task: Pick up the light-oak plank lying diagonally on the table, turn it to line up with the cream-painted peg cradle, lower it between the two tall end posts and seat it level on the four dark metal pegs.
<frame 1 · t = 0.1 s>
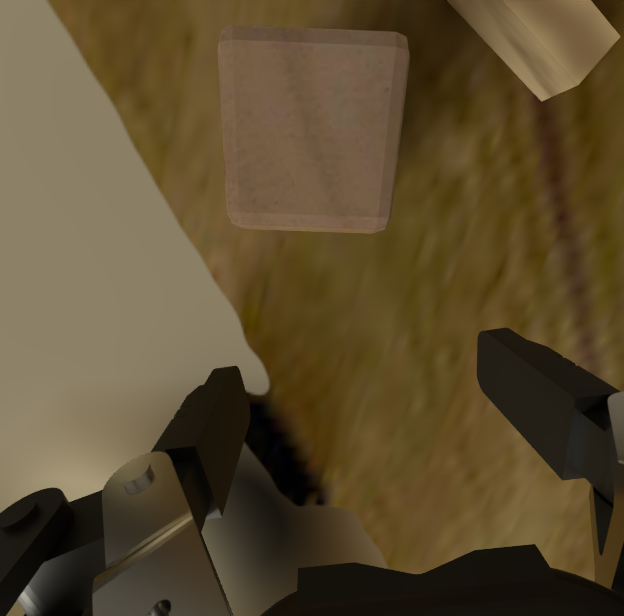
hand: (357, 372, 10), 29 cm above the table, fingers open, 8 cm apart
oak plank: (509, 30, 30), on the table
wooden block: (312, 173, 35), on the table
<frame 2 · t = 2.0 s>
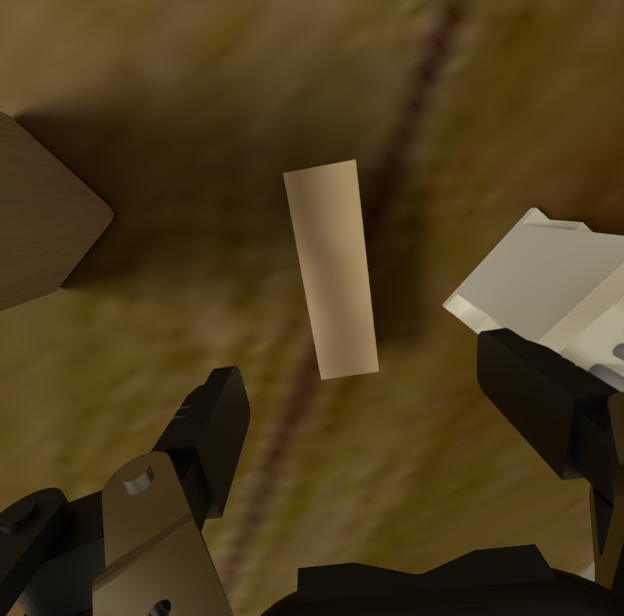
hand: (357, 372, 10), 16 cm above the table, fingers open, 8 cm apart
peg cradle: (564, 325, 27), on the table
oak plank: (332, 268, 25), on the table
wooden block: (38, 210, 24), on the table
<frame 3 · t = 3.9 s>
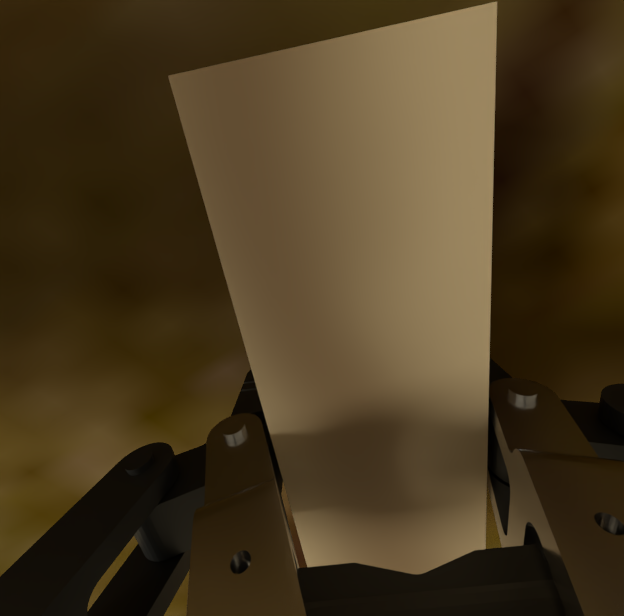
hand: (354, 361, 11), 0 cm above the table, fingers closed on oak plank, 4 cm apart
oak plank: (353, 352, 11), on the table, touching gripper
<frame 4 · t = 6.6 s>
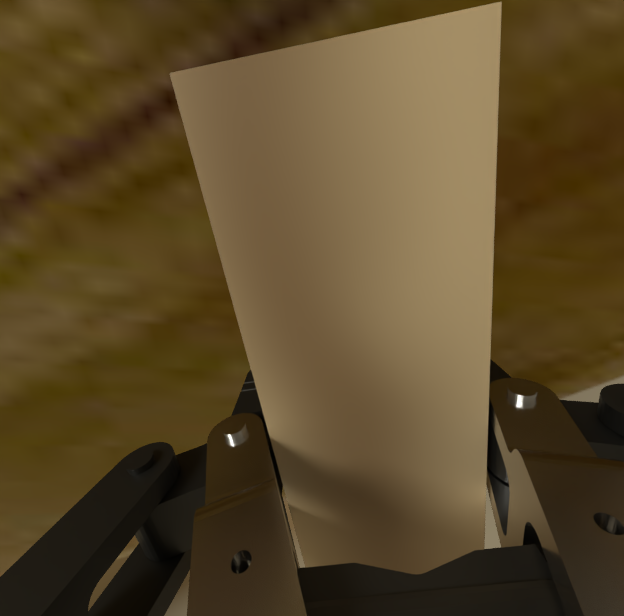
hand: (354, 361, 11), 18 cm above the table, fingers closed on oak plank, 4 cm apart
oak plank: (352, 352, 11), point 18 cm above the table, touching gripper
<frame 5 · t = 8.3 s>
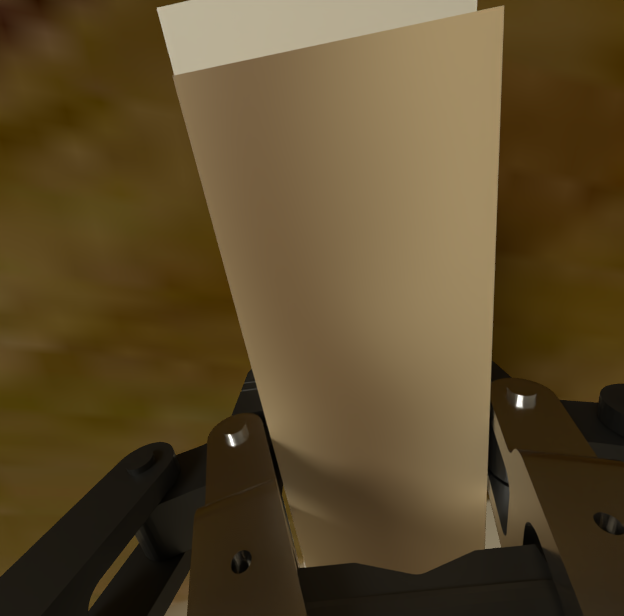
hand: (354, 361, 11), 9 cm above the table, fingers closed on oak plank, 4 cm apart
peg cradle: (338, 292, 19), on the table
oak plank: (353, 353, 11), point 8 cm above the table, touching gripper
when the fingers open (6 cm above the table, at t = 9.3 s): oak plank drops 1 cm, resting on peg cradle.
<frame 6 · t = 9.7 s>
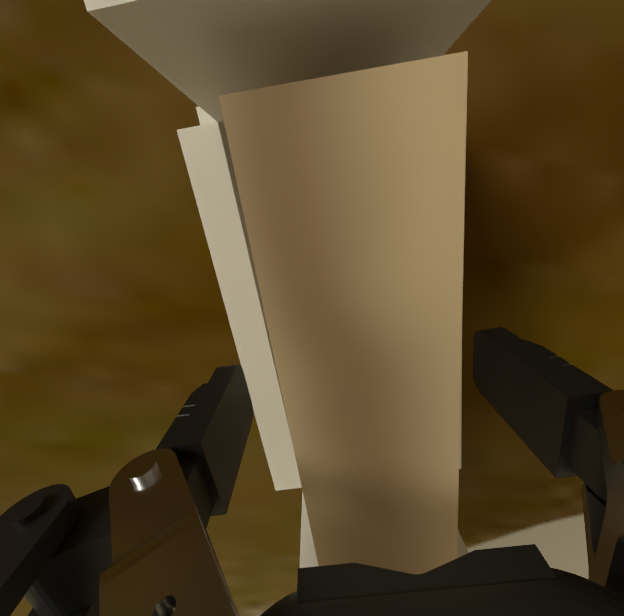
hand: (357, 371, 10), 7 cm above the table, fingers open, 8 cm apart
peg cradle: (340, 306, 17), on the table
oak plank: (350, 335, 13), point 4 cm above the table, touching peg cradle
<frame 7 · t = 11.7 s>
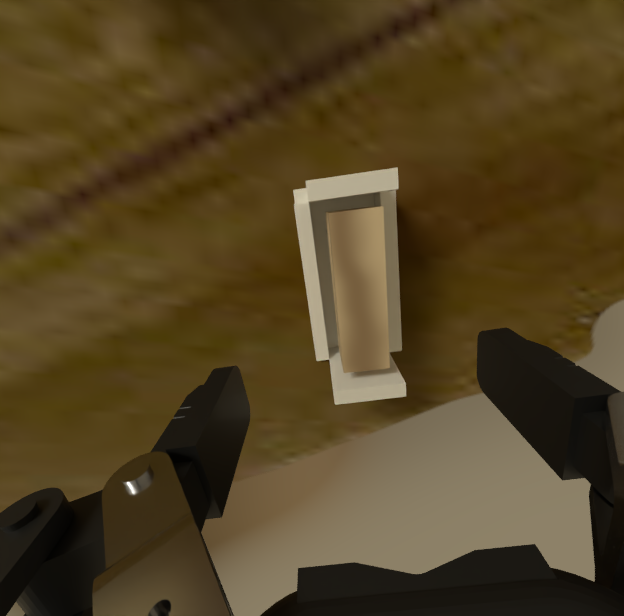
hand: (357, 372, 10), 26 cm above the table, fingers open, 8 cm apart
peg cradle: (348, 276, 35), on the table
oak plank: (354, 283, 31), point 4 cm above the table, touching peg cradle
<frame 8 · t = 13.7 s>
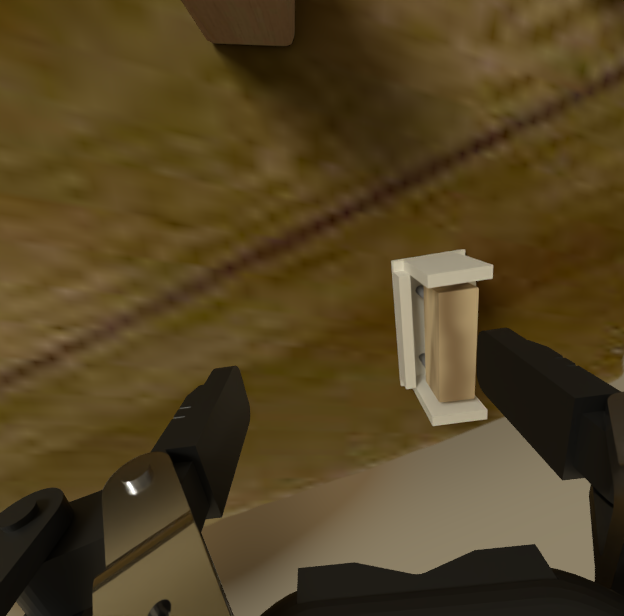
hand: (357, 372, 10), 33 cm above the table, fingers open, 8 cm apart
peg cradle: (429, 322, 45), on the table
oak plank: (441, 332, 41), point 4 cm above the table, touching peg cradle
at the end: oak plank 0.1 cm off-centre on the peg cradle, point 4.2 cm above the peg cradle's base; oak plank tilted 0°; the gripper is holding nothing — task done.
